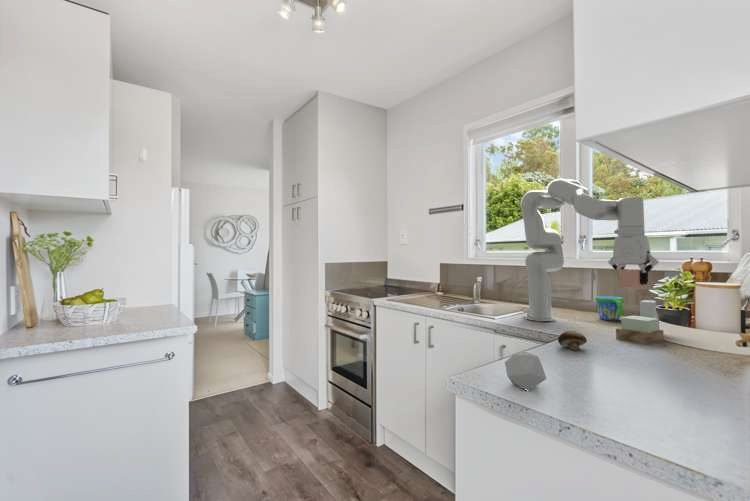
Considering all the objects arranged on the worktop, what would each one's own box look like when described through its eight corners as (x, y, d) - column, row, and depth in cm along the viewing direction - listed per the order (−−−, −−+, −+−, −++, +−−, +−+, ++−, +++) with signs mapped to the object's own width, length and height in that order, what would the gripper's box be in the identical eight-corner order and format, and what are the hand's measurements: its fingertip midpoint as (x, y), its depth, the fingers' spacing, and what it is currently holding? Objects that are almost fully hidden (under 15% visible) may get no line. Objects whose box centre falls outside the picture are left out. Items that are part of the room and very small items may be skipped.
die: (555, 395, 77) (548, 353, 83) (535, 383, 73) (529, 340, 79) (520, 399, 82) (516, 359, 88) (500, 388, 78) (496, 347, 84)
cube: (618, 286, 123) (618, 269, 123) (628, 285, 126) (627, 269, 126) (637, 287, 118) (637, 270, 118) (647, 286, 121) (646, 269, 121)
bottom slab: (616, 339, 124) (615, 328, 124) (631, 336, 128) (630, 325, 129) (649, 345, 115) (648, 333, 115) (663, 341, 120) (663, 330, 120)
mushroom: (584, 343, 105) (577, 324, 109) (557, 350, 110) (552, 331, 113) (593, 352, 110) (586, 333, 114) (567, 358, 114) (561, 340, 118)
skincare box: (655, 335, 127) (654, 302, 127) (640, 333, 130) (639, 301, 131) (658, 332, 131) (657, 300, 132) (643, 331, 135) (642, 299, 135)
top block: (621, 328, 123) (621, 317, 123) (633, 326, 127) (632, 315, 127) (648, 333, 116) (647, 321, 116) (659, 330, 120) (659, 318, 120)
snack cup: (632, 322, 151) (631, 299, 151) (606, 322, 152) (605, 299, 152) (612, 316, 166) (612, 295, 166) (589, 316, 168) (588, 295, 168)
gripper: (599, 233, 128) (601, 282, 128) (654, 230, 113) (656, 285, 113) (611, 234, 132) (612, 281, 131) (665, 230, 116) (667, 284, 116)
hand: (632, 283), depth 122 cm, fingers closed on cube, 6 cm apart
